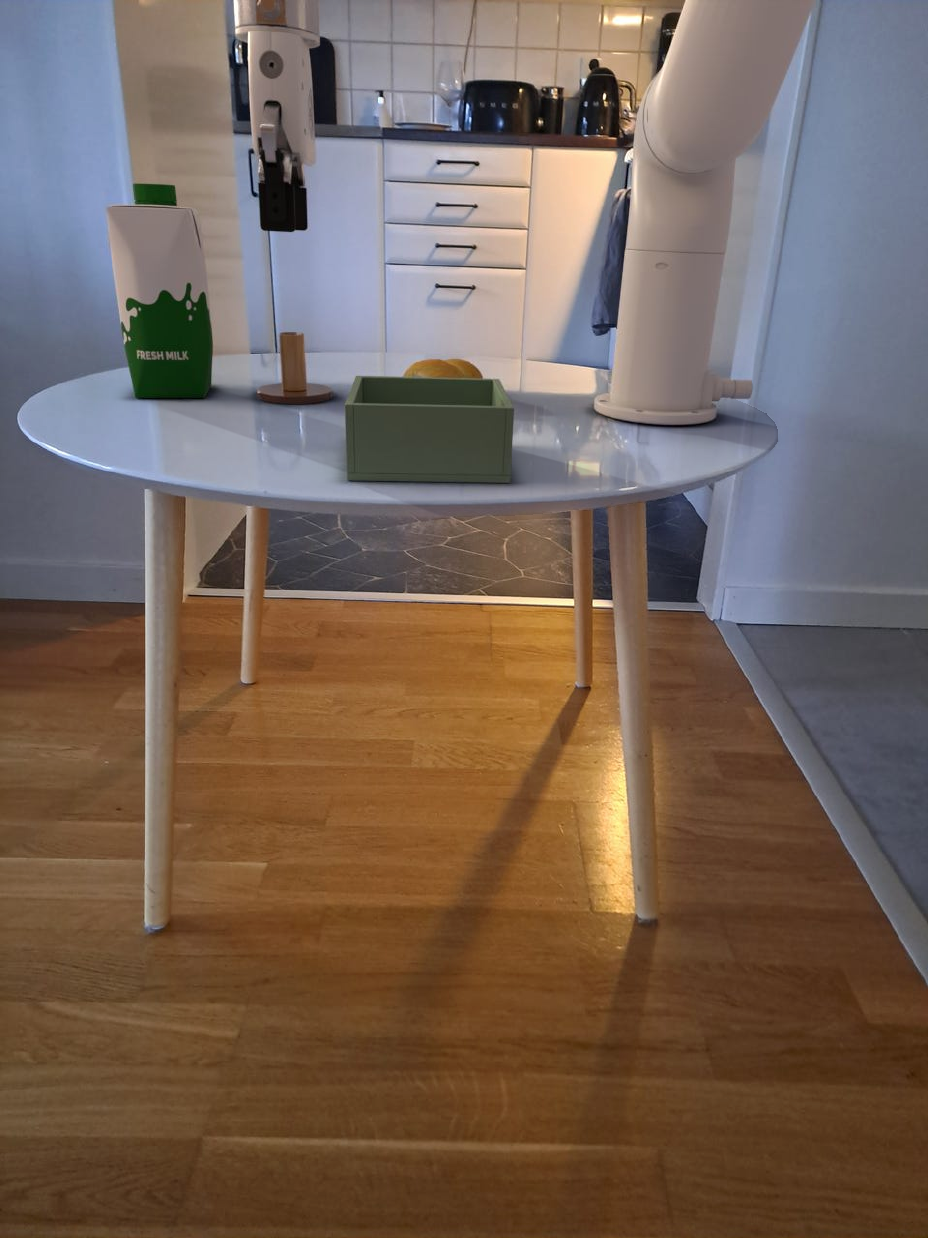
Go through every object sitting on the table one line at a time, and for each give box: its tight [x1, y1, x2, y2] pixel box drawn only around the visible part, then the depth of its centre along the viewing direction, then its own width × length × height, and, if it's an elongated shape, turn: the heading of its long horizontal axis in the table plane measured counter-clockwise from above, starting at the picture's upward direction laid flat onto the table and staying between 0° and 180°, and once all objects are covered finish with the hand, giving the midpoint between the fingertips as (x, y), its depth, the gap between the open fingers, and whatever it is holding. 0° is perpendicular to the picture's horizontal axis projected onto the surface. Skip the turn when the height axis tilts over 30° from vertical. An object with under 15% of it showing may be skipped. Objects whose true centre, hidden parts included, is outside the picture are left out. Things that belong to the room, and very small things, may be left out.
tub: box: [344, 375, 515, 484], centre depth 67 cm, size 12×12×6 cm
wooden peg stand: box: [256, 331, 334, 405], centre depth 89 cm, size 8×8×6 cm
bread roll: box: [402, 358, 484, 379], centre depth 93 cm, size 8×9×4 cm
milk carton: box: [105, 182, 214, 399], centre depth 86 cm, size 9×9×20 cm
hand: (285, 230), depth 83 cm, fingers open, 9 cm apart
